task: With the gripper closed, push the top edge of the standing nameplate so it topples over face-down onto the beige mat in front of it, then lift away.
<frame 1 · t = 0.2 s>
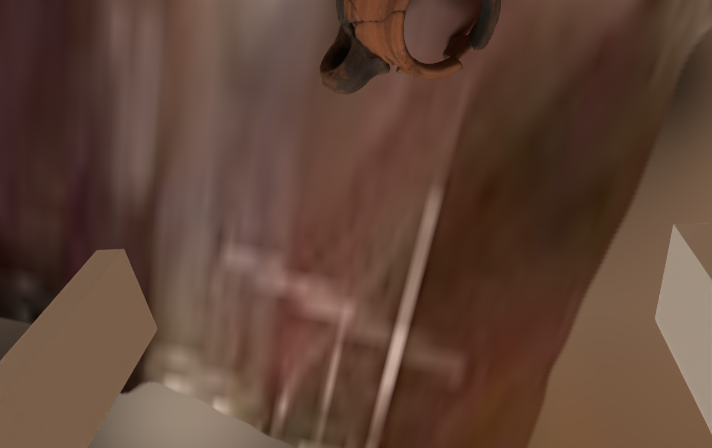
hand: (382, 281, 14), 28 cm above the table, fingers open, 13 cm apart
pottery mug: (398, 2, 37), on the table
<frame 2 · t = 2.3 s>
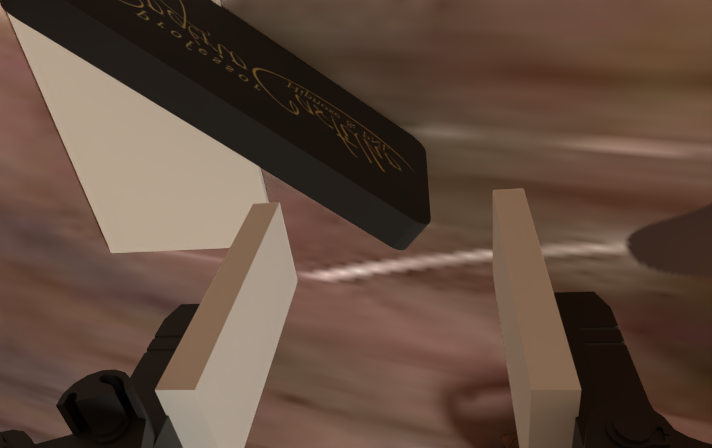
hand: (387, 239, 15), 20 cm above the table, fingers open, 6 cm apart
pottery mug: (545, 440, 49), on the table
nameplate: (274, 60, 33), on the table, touching beige mat
beige mat: (135, 73, 35), on the table
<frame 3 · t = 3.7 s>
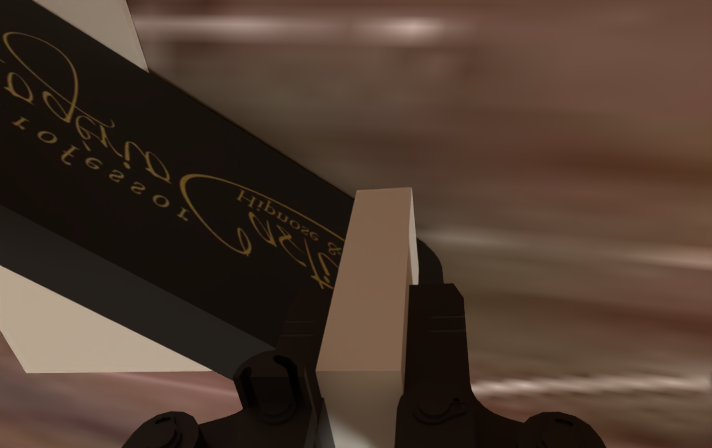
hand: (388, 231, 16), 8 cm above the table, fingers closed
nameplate: (227, 142, 23), on the table, touching beige mat
beige mat: (36, 157, 25), on the table
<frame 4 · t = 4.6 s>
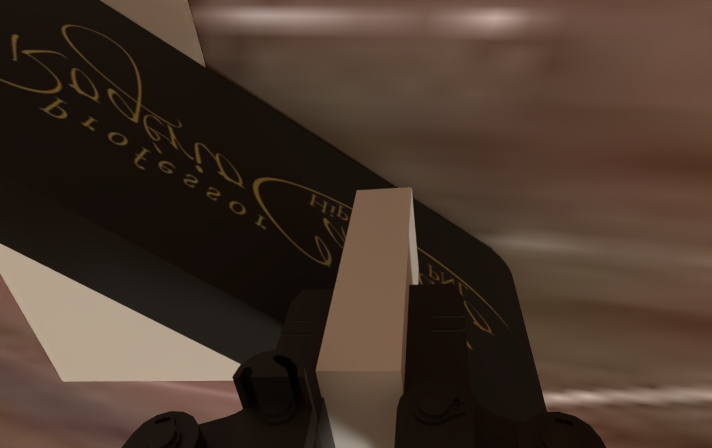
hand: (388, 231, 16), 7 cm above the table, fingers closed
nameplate: (286, 142, 22), on the table, touching beige mat, gripper
beige mat: (81, 157, 24), on the table
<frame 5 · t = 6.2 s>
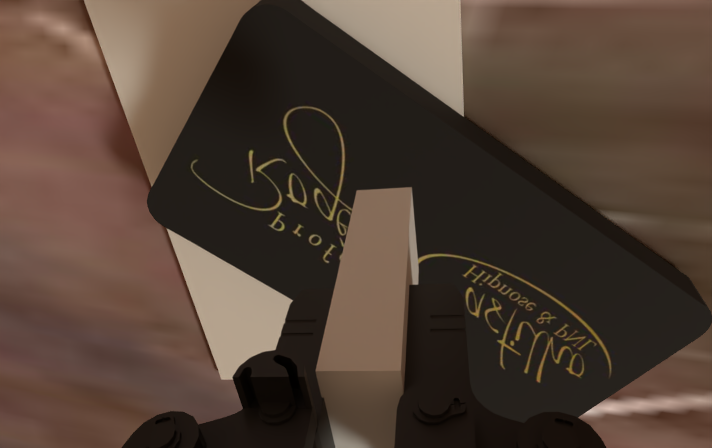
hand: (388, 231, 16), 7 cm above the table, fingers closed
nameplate: (519, 158, 20), point 1 cm above the table, touching beige mat
beige mat: (296, 141, 22), on the table
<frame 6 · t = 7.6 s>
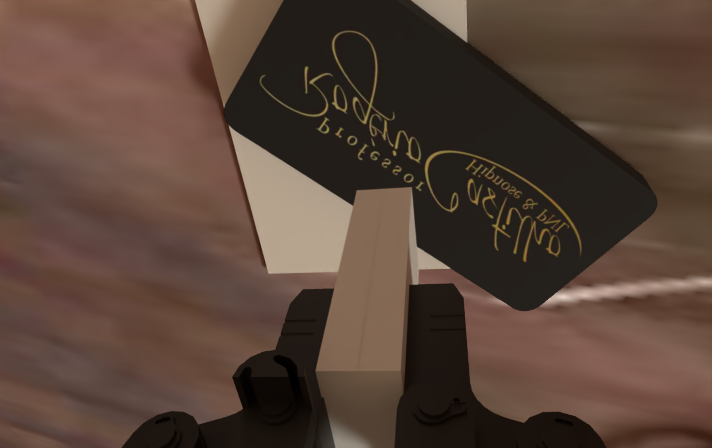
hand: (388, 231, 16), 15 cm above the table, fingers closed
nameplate: (508, 73, 27), point 1 cm above the table, touching beige mat
beige mat: (338, 65, 29), on the table
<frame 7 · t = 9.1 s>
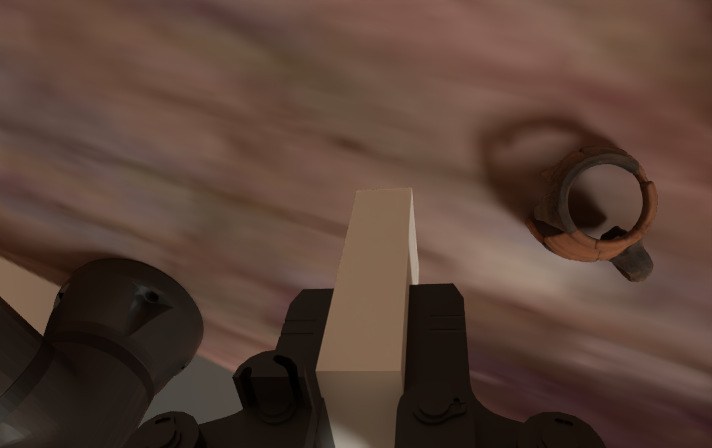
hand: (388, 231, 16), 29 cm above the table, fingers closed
pottery mug: (585, 199, 47), on the table
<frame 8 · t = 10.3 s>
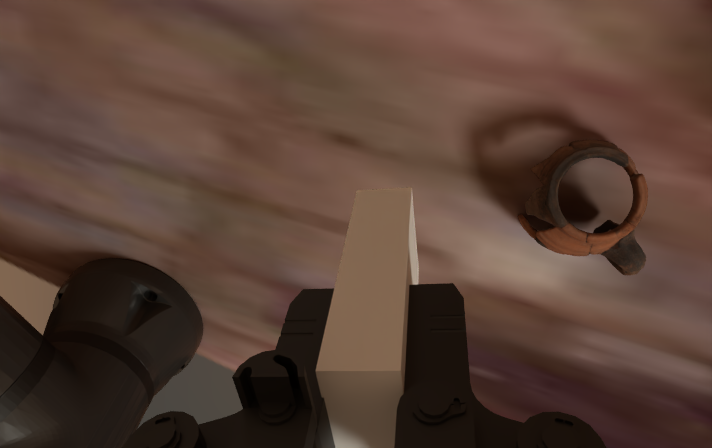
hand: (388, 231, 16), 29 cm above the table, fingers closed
pottery mug: (577, 194, 47), on the table
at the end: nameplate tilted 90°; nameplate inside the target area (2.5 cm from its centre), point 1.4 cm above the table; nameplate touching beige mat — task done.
